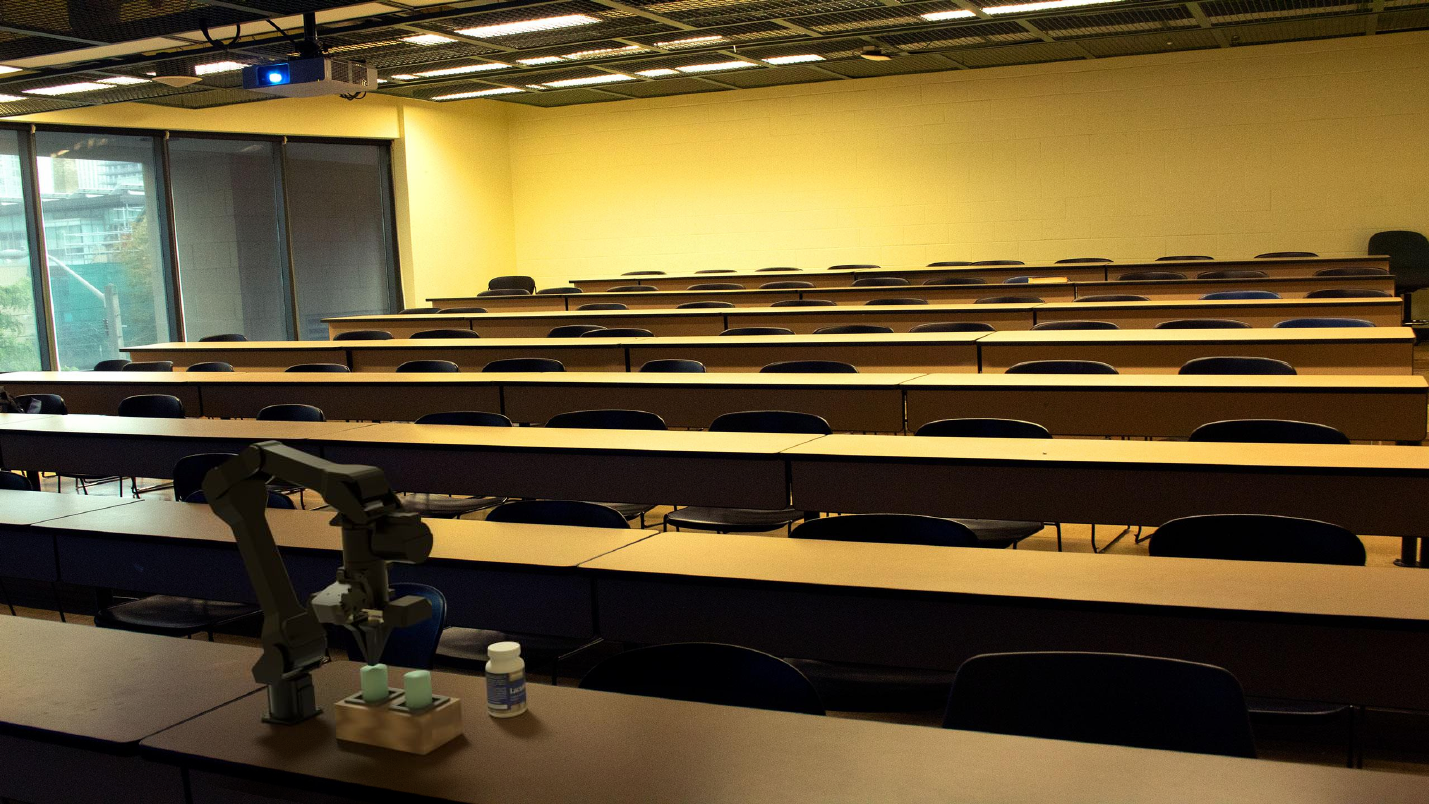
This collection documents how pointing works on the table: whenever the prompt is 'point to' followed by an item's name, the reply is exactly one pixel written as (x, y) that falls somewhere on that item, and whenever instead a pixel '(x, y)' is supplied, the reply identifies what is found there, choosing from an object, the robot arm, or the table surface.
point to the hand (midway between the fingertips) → (372, 665)
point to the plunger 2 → (418, 689)
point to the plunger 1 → (374, 682)
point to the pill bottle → (505, 680)
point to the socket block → (398, 722)
